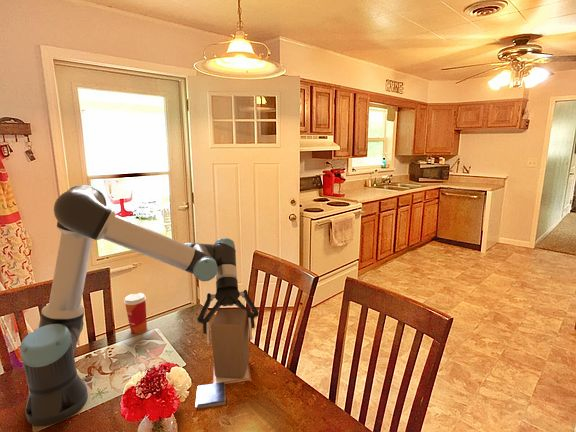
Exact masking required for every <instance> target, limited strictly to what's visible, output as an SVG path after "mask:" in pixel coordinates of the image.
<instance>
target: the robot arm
mask: <svg viewBox="0 0 576 432" xmlns="http://www.w3.org/2000/svg"><path fill="white" fill-rule="evenodd" d="M53 214H54V217H55V219H56V221H57V224H56V228H57V229H58V230H59V231H60V233H61V235H60V238H59V239H60V240H59V245H58V250H57V257H56V262H55V268H54V273H53V279H52V284H51V289H50V296H49V302H48V304H47V305H45V306H44V307H42V309H41V313H40V318H39V324H38V328H35V329H33V331H32V332H29V333H28V334H27V335H26V336H25V337H24V338H23V339H22V341H21V343H20V347H19V349H20V350H19V352H20V353H19V354H20V359H21V361H22V366H23V371H24V375H25V379H26V384H27V388H28V396H27V401H26V404H25V405H26V406H25V417H26V420H27V423H29V424H30V423H31V424H30V425H32V424H33V425H32V426H35V425H36V426H37V427H41V426H49V425H53V424H57V423H59V422H61V421H64V420H66V419H68V418H70V417H71V416H72V415H74V414H75V413H77V412H78V411H79V410H80V409H81V408H82V407H83V406H84V405H85V403H86V402H87V400H88V397H89V393H88V387H87V385H86V384H85V383H84V381H83V379H82V378H81V376H80V375H79V374H78V371H77V365H76V361H75V350H76V347H77V344H78V341H79V338H80V336H81V333H82V331H83V328H84V315H85V312H86V311H85V307H84V306H83V305H82V304H81V303H82V298H83V295H84V294H83V293H84V288H85V283H86V278H87V273H88V267H89V261H90V256H91V251H92V247H93V246H92V245H93V241H99V240H105V241H108V242H110V243H112V244H115V245H118V246H120V247H123V248H126V249H128V250H131V251H132V252H136V253H138V254H141V255H143V256H146V257H149V258H152V259H154V260H156V261H159V262H162V263H165V264H167V265H169V266H172V267H175V268H177V269H180V270H182V271H185V272H187V273H190V274H192V275H193V276H194V277H195V278H196V279H197V280H198V281H200V282H209V281H212V280H213V279H214V278H215V280H216V281H215V289H216V292H215V293H214V294H211V293H210V292H209V293H207V294H206V300H205V302H204V304H203V307H202V308H201V311H200V313H199V315H198V317H197V322H198V324H202V333H203V334H204V335H206V345H207V346H209V345H211V337H210V336H211V324H210V322H209V321H210V320H211V319H212V318H213V316H214V315H216V313H217V312H218V310H219V309H221V306H222V307H232V306H234V305H235V306H236V307H238V309H245V310H246V311H247V324H248V338H249V340H250V341H251V340H253V331H252V330H253V329H255V327H256V326H255V318H257V317H259V315H260V312H259V310H258V309H257V307H256V306H255V304H254V303H253V301H252V299H251V298H250V296H249V294H248V290H247V289H243V290H242V291H240V290H239V285H238V270H237V254H236V252H237V251H236V246H235V242H234V240H233V239H231V238H228V237H224V238H219V239H216V240H215V242H214V244H213V243H211V244H210V243H199V242H185V243H182V242H180V241H177V240H175V239H173V238H171V237H169V236H166V235H163V234H161V233H160V232H158V231H154V230H152V229H150V228H148V227H145V226H143V225H140V224H138V223H136V222H134V221H131V220H129V219H126V218H124V217H122V216H119V215H118V214H116V212H115V210H114V209H112V208H110V207H107V199H106V197H105V195H104V193H103V192H101V190H100V189H98V188H97V187H94V186H93V185H92V186H91V185H89V184H88V185H87V184H80V185H79V184H78V185H74V186H71V187H70V188H68V189H67V191H65V192H63V193H62V194H60V195H59V196H58V198H56V200H55V202H54V205H53ZM240 297H242V298H243V299H244V301H245V302H246V304H247V305H248V307H249V308H250V309H249V308H248V307H246V306H245V305H244V303H242V302H241V300H240V299H239V298H240ZM214 299H215V300H216V302H215V304H214V305H213V306H212V308H211V310H210V311H209V312H208V313H207V311H208V310H209V307H210V305H211V303H212V302H213V300H214ZM250 310H251V311H250Z"/></svg>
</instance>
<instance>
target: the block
mask: <svg viewBox="0 0 576 432" xmlns="http://www.w3.org/2000/svg"><path fill="white" fill-rule="evenodd" d="M214 315H215V316H214V317H213V319H212V321H211V323H210V336H211V345H212V346H211V347H212V356H213V357H212V358H213V373H214V372H215V376H216V377H224V378H243V377H244V375H245V372H246V369H247V365H248V362H249V363H250V345H249V325H248V316H247V311H246V310H245V309H240V308H219V309H218V310H217V311H216V313H215V314H214Z"/></svg>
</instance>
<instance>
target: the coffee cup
mask: <svg viewBox="0 0 576 432" xmlns="http://www.w3.org/2000/svg"><path fill="white" fill-rule="evenodd" d="M146 300H147V297H146V296H145V294H144V293H143V292H138V293H137V292H136V293H131V294H128V295H127V296H125V297H124V301H123V303H124V306H125V309H126V313H127V319H128V323H129V329H130V332H131V334H133V335H140V334H143V333H144V332H146V331H147V327H148V326H147V325H148V324H147V306H146Z"/></svg>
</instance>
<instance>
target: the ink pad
mask: <svg viewBox="0 0 576 432" xmlns="http://www.w3.org/2000/svg"><path fill="white" fill-rule="evenodd" d="M226 401H227V400H226V384H225V382H221V383H214V384H213V383H209V384H207V383H206V384H201V385H198V386H197V389H196V398H195V409H196V410H198V409H197V408H200V409H205V408H211V407H217V406H218V407H219V406H225V405H226Z"/></svg>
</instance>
